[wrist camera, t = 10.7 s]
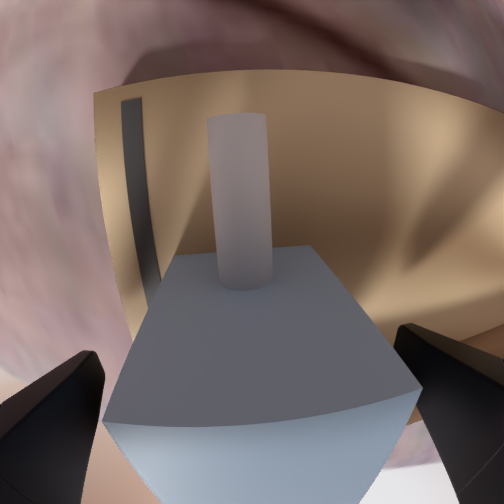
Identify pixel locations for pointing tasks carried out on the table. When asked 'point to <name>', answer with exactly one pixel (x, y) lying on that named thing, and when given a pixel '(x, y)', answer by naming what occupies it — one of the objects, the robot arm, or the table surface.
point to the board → (319, 190)
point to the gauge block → (256, 361)
